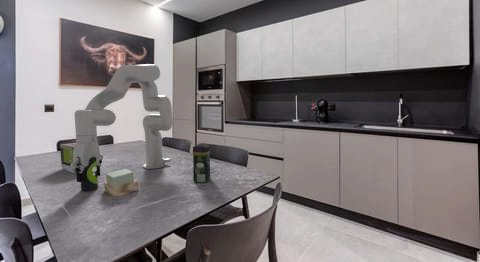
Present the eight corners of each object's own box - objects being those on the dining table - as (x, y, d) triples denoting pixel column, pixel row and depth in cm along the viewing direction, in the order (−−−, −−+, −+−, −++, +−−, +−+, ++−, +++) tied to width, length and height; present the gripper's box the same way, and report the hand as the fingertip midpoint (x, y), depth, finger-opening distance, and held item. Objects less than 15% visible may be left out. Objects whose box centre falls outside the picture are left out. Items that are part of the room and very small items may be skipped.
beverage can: (79, 190, 102) (76, 156, 100) (94, 186, 106) (92, 154, 105) (84, 193, 98) (82, 158, 96) (100, 189, 103) (98, 156, 101)
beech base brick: (130, 185, 108) (129, 175, 107) (139, 191, 101) (138, 180, 100) (105, 193, 101) (104, 182, 100) (114, 199, 94) (112, 188, 93)
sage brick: (126, 177, 106) (125, 168, 105) (134, 181, 100) (133, 172, 100) (107, 182, 100) (106, 173, 99) (114, 187, 95) (112, 177, 94)
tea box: (93, 169, 134) (91, 144, 132) (73, 173, 125) (71, 146, 124) (80, 165, 142) (78, 141, 140) (60, 169, 134) (59, 143, 132)
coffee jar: (196, 177, 122) (196, 141, 120) (211, 177, 121) (211, 142, 119) (191, 183, 112) (190, 145, 110) (207, 183, 112) (207, 145, 110)
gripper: (94, 136, 109) (96, 172, 111) (60, 141, 92) (63, 184, 93) (108, 136, 108) (110, 173, 110) (77, 142, 91) (80, 185, 92)
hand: (89, 178), depth 102 cm, fingers open, 8 cm apart
